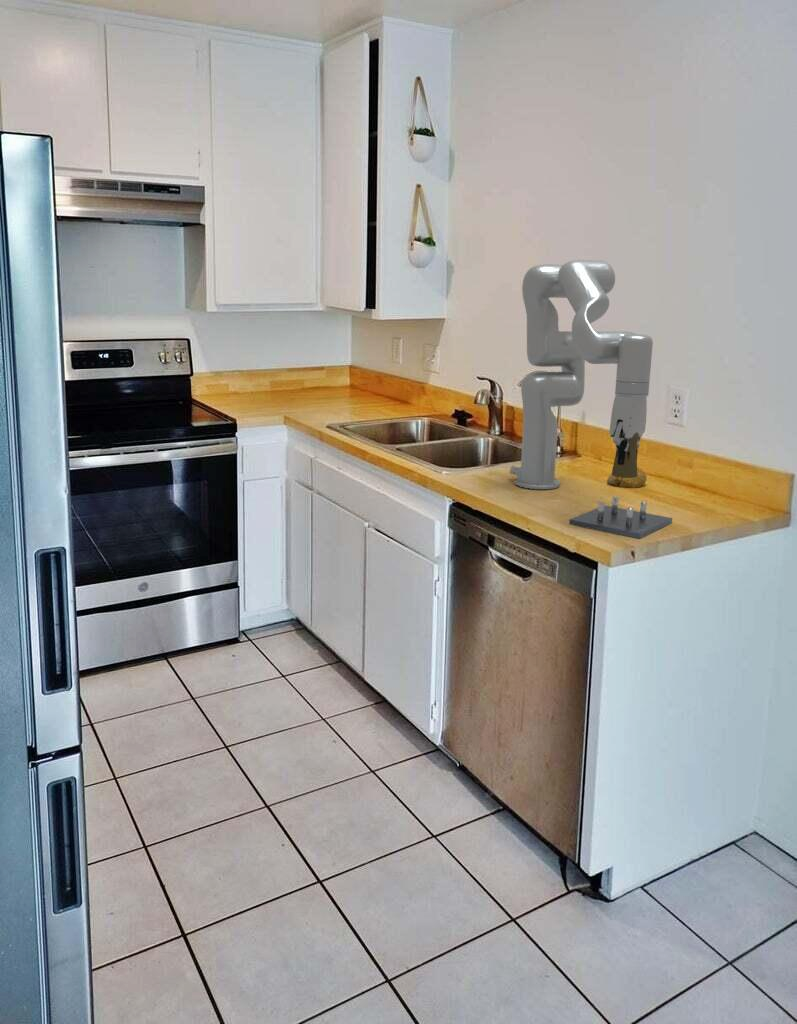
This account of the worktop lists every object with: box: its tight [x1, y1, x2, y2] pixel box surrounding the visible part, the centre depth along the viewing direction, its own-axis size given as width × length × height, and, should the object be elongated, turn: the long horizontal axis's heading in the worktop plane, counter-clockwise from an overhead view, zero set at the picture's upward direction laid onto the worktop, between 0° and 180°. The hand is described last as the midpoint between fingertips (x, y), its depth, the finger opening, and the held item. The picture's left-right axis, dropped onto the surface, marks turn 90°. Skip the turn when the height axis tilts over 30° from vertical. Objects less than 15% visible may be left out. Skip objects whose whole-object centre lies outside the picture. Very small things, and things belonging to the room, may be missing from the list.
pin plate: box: [569, 496, 673, 540], centre depth 219 cm, size 18×18×5 cm
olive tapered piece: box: [611, 433, 639, 478], centre depth 215 cm, size 6×6×11 cm
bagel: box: [606, 467, 648, 489], centre depth 259 cm, size 10×11×5 cm
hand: (625, 465), depth 216 cm, fingers closed on olive tapered piece, 3 cm apart
